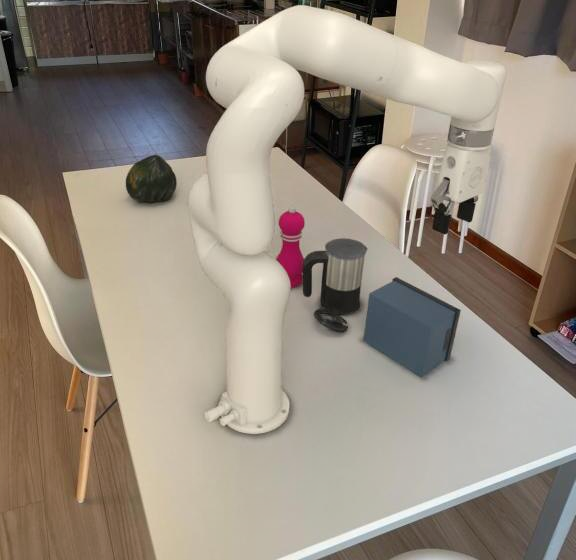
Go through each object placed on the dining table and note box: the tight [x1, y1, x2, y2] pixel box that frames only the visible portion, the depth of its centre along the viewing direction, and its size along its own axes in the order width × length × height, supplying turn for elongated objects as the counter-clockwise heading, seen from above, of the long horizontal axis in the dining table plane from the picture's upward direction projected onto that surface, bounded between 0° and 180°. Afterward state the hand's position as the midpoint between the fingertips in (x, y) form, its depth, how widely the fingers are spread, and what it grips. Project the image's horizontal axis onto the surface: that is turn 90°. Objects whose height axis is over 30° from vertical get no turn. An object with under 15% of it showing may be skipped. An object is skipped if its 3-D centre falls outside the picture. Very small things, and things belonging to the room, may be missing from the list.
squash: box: [125, 154, 178, 203], centre depth 177 cm, size 14×15×15 cm
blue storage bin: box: [363, 276, 462, 378], centre depth 116 cm, size 9×16×12 cm, turn 42°
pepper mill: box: [275, 205, 306, 289], centre depth 136 cm, size 7×7×20 cm
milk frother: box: [302, 237, 368, 333], centre depth 126 cm, size 14×16×15 cm
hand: (452, 225), depth 111 cm, fingers open, 7 cm apart
